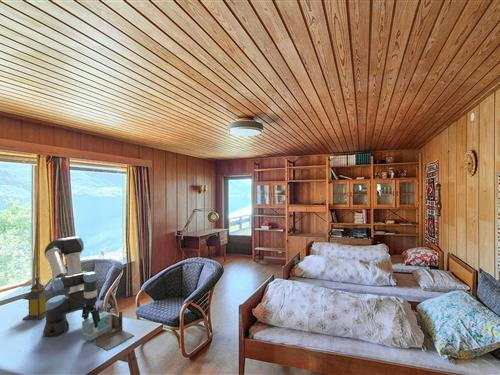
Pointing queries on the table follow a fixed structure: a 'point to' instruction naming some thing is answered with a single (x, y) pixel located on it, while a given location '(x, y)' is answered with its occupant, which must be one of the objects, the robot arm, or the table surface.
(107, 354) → the table surface
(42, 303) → the lantern
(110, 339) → the rubber mat
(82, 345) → the table surface
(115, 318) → the shelf cradle
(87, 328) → the radio
